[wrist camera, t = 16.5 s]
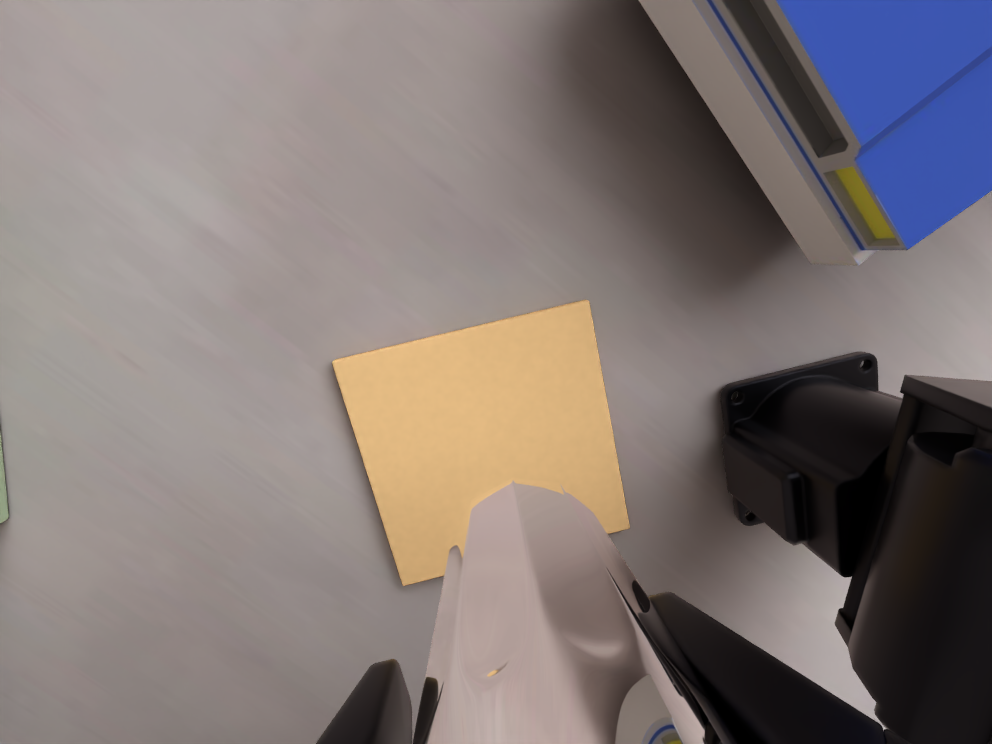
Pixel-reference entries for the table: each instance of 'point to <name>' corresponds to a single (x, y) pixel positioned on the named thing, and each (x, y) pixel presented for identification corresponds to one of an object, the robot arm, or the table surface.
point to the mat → (481, 425)
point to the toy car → (847, 109)
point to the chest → (3, 489)
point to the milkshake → (553, 636)
